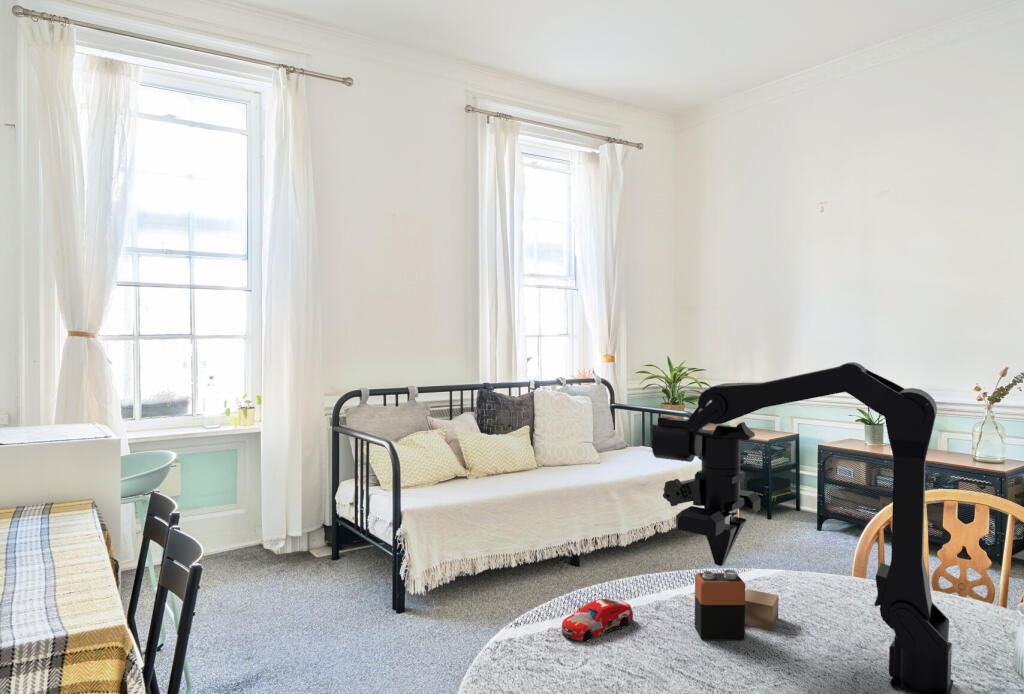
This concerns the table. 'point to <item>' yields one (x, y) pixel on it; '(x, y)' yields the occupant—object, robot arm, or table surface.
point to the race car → (597, 619)
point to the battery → (720, 605)
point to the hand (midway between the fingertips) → (719, 564)
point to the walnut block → (761, 609)
